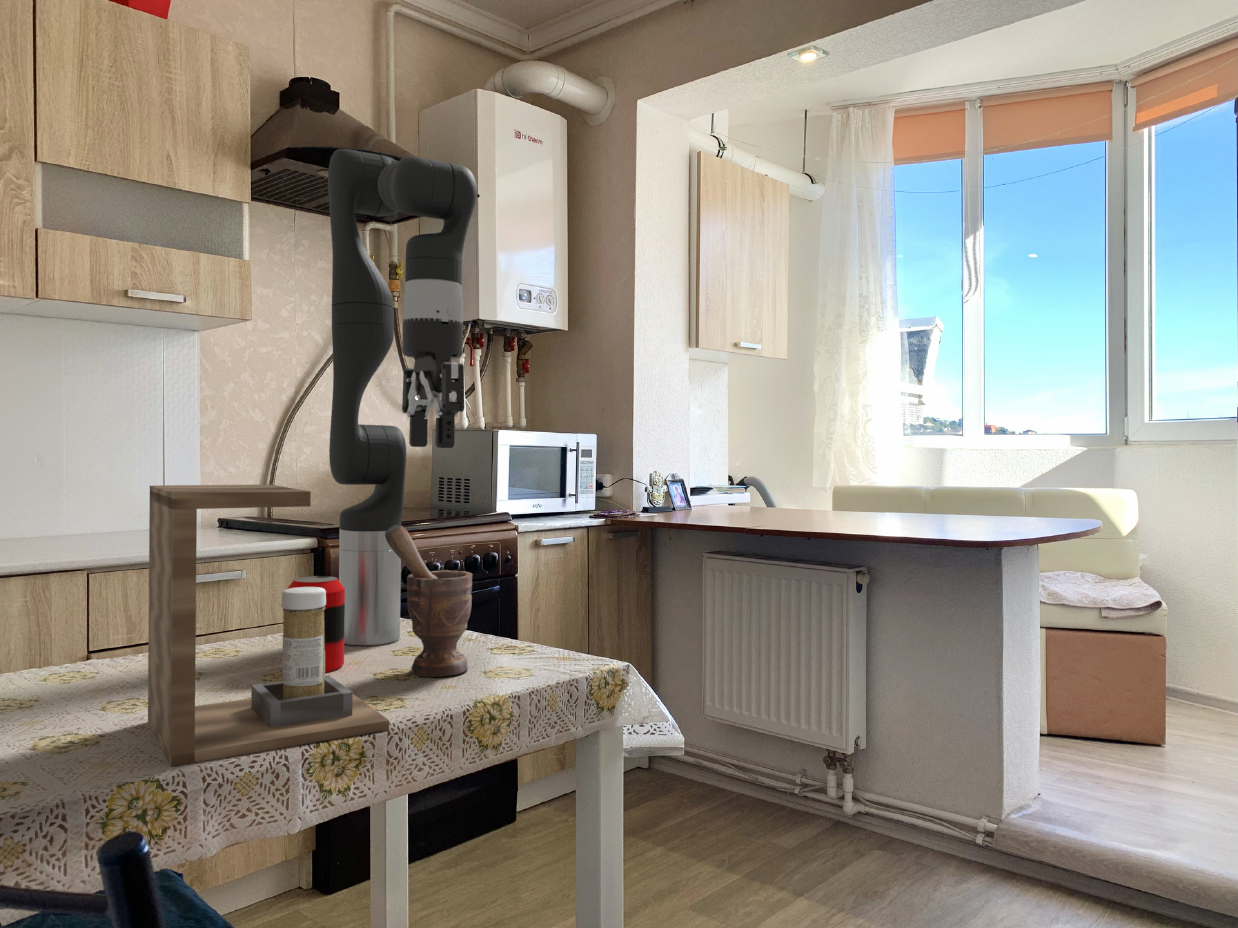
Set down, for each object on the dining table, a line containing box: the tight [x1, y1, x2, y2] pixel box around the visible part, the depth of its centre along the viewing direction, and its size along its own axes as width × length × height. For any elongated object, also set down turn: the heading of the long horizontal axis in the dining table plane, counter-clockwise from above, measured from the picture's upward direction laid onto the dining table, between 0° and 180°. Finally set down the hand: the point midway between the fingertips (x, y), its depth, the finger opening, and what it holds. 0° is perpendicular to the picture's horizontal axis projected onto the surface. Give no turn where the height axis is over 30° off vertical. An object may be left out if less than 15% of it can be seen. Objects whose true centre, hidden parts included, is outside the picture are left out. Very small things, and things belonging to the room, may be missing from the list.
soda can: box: [286, 575, 345, 674], centre depth 122 cm, size 8×8×12 cm
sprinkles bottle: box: [281, 587, 326, 699], centre depth 98 cm, size 5×5×14 cm
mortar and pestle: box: [385, 524, 473, 678], centre depth 120 cm, size 12×9×20 cm
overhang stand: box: [147, 484, 390, 767], centre depth 96 cm, size 16×21×26 cm
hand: (431, 447), depth 115 cm, fingers open, 8 cm apart
